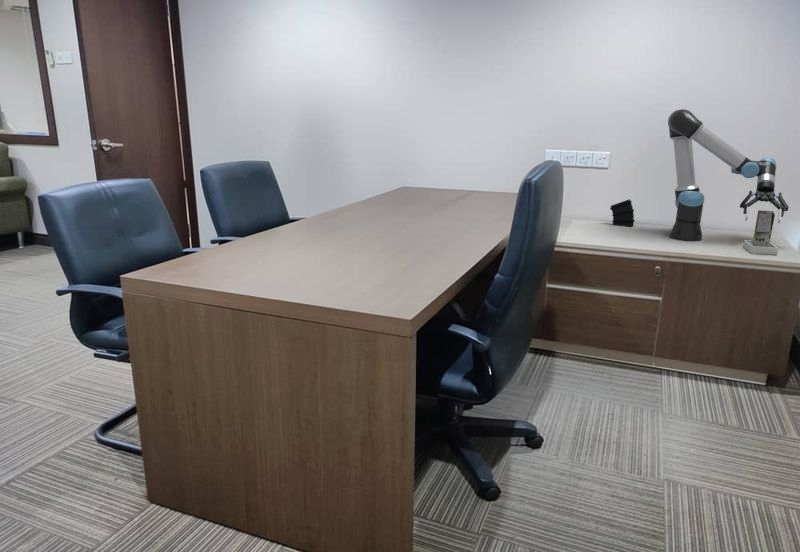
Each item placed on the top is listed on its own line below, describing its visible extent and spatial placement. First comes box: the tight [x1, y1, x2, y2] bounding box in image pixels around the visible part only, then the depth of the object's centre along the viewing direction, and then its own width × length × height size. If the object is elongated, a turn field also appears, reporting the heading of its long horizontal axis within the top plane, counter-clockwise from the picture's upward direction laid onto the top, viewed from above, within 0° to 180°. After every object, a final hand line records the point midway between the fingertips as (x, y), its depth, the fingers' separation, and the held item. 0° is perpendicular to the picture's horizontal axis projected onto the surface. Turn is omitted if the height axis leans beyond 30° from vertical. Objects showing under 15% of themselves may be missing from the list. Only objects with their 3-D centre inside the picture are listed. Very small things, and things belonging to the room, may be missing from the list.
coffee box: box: [752, 210, 776, 247], centre depth 278 cm, size 9×6×16 cm
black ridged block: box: [610, 198, 635, 228], centre depth 336 cm, size 4×13×15 cm, turn 56°
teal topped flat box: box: [742, 239, 779, 256], centre depth 280 cm, size 11×14×4 cm
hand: (762, 220), depth 285 cm, fingers open, 13 cm apart
